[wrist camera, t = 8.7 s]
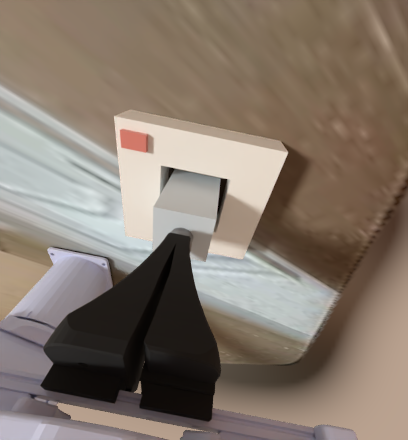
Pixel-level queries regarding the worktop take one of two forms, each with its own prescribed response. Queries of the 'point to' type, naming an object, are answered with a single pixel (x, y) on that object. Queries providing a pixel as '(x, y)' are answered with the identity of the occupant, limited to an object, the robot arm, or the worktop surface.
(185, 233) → the plug
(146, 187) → the socket box
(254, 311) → the worktop surface
